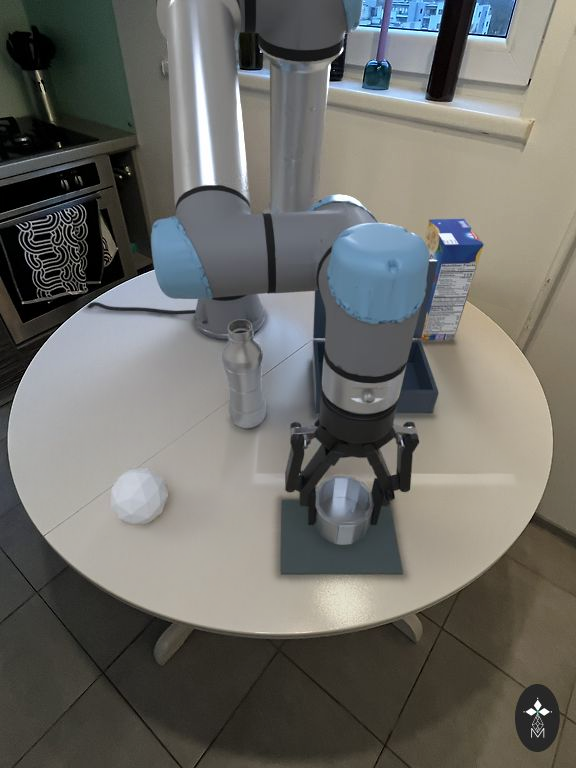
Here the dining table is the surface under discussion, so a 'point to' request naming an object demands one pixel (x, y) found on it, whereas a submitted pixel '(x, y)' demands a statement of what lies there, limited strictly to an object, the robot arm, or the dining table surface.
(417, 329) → the chest lid
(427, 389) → the box
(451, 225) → the blue cereal box
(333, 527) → the grey hollow cylinder
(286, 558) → the mat
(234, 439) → the dining table surface
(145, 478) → the geometric ball
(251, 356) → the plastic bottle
